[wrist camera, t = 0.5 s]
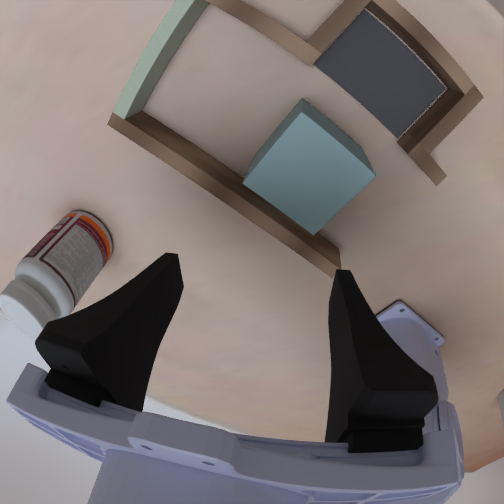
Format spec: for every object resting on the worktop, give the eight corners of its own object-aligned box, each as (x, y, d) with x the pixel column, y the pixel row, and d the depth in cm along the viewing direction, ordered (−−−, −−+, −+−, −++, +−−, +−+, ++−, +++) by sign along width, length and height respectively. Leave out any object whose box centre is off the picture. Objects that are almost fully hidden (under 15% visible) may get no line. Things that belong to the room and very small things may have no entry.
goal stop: (209, 2, 14) (196, -4, 12) (141, 110, 19) (123, 119, 17) (197, -4, 14) (183, -10, 12) (131, 104, 19) (112, 112, 17)
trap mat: (444, 88, 15) (445, 88, 15) (396, 137, 18) (397, 138, 18) (364, 9, 13) (364, 9, 13) (313, 64, 16) (313, 64, 16)
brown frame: (481, 112, 15) (499, 121, 13) (330, 257, 24) (331, 277, 22) (257, -74, 10) (250, -88, 8) (125, 115, 20) (107, 124, 18)
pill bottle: (68, 251, 29) (7, 328, 20) (61, 201, 25) (-17, 278, 16) (116, 268, 29) (59, 357, 20) (114, 217, 25) (38, 309, 16)
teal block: (361, 146, 19) (375, 175, 15) (313, 196, 22) (313, 235, 18) (302, 97, 18) (301, 111, 14) (256, 153, 20) (242, 183, 16)
